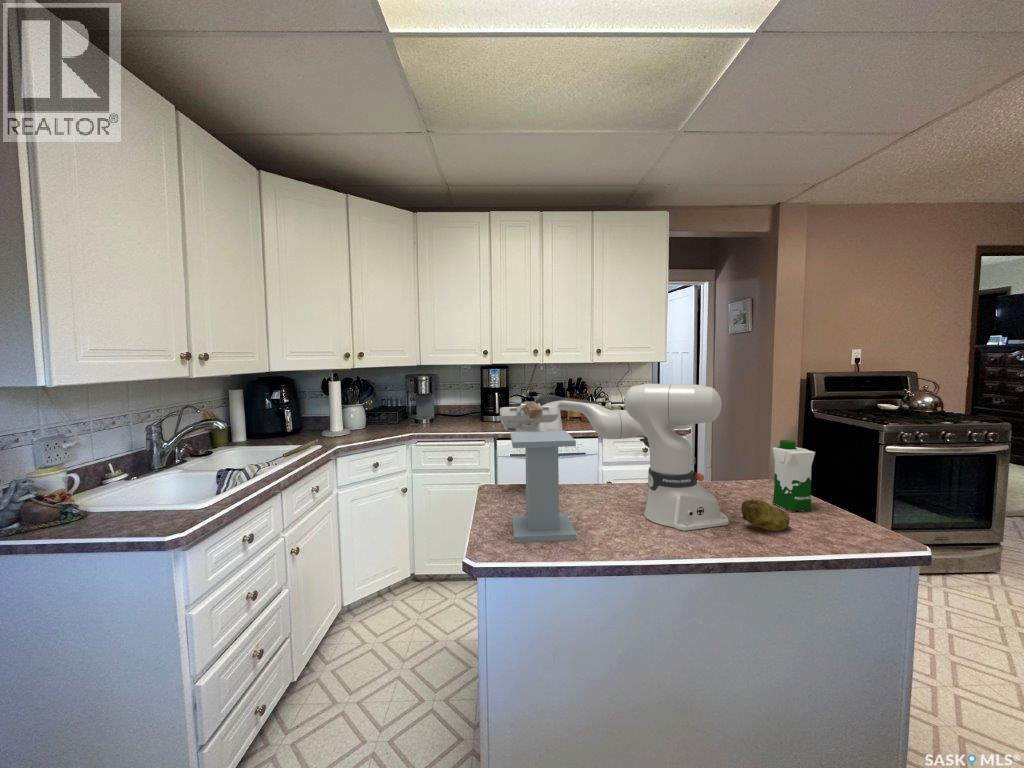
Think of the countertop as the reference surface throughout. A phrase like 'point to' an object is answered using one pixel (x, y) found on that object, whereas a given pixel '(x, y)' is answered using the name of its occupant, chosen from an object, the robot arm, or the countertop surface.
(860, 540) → the countertop surface
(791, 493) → the milk carton
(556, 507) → the stand
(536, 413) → the block
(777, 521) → the potato
